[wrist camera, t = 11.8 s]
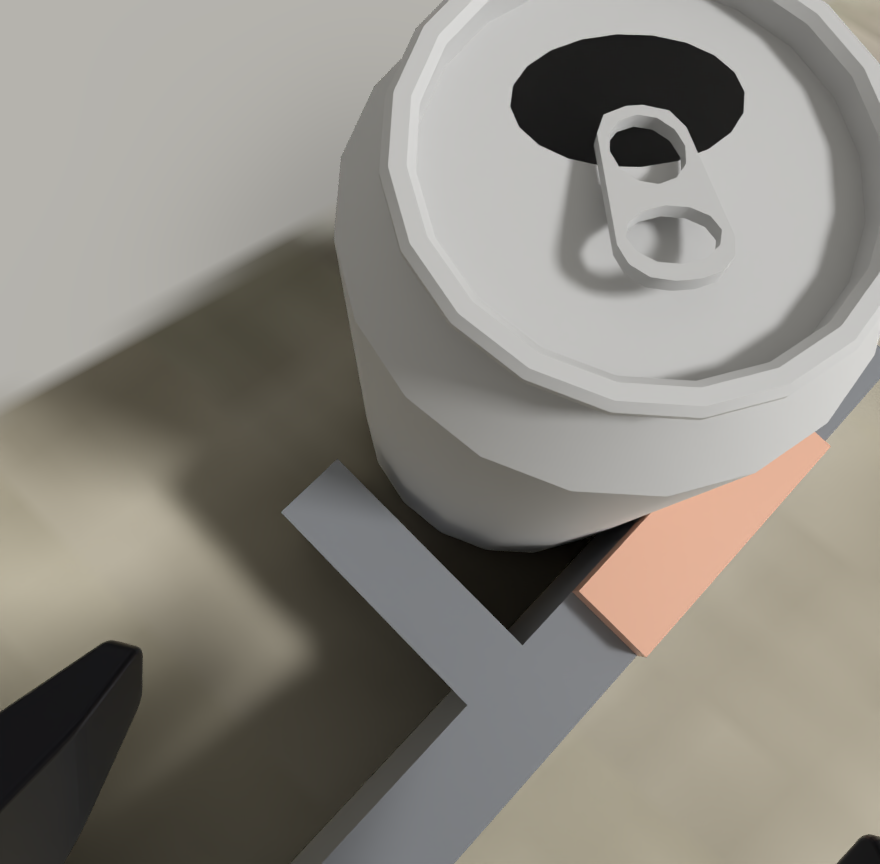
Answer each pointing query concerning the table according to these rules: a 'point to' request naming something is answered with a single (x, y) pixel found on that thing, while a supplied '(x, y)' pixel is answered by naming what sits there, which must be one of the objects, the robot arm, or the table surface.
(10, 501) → the table surface
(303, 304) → the table surface
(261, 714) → the table surface
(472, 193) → the can
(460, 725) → the comb rack
